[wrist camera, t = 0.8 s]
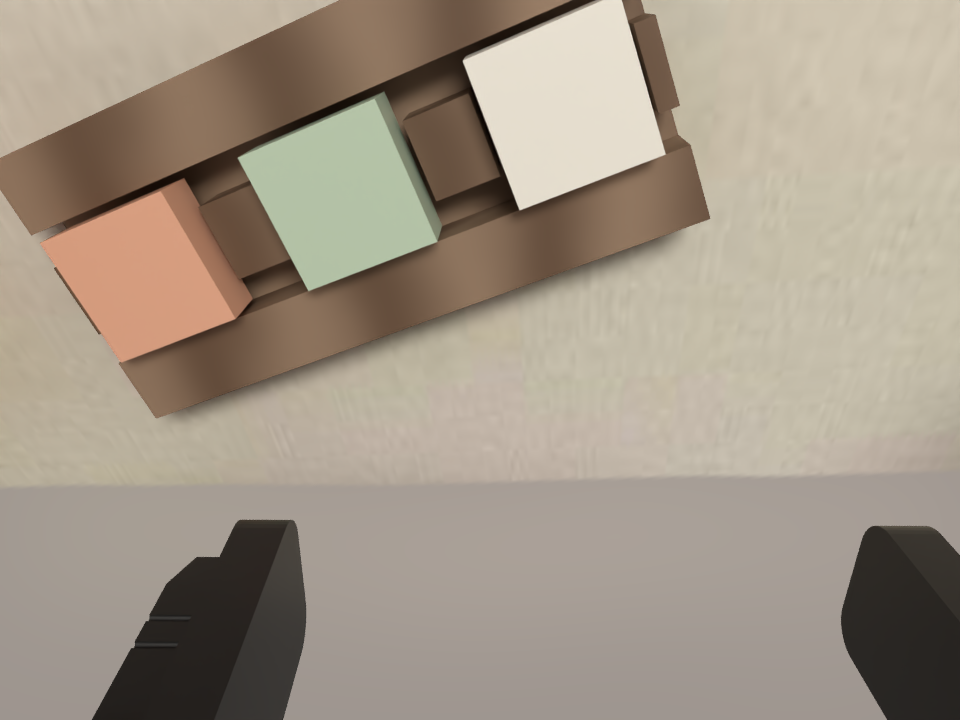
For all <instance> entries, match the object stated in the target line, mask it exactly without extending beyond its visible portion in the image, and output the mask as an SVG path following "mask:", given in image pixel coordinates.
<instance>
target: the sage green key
mask: <svg viewBox="0 0 960 720" xmlns="http://www.w3.org/2000/svg"><path fill="white" fill-rule="evenodd" d="M238 159H239V161H240V163H241V165H242V167H243V169H244V171H245V173H246V174H247V176H248V178H249V180H250V182H251V184H252V186H253V188H254V190H255V191H256V193H257V195H258V197H259V199H260V201H261V203H262V205H263V206H264V208H265V210H266V212H267V214H268V216H269V218H270V220H271V221H272V223H273V225H274V227H275V229H276V231H277V233H278V235H279V237H280V238H281V240H282V242H283V244H284V246H285V248H286V250H287V252H288V253H289V255H290V257H291V259H292V261H293V263H294V265H295V267H296V268H297V270H298V272H299V274H300V276H301V278H302V280H303V282H304V284H305V285H306V287H307V289H308V291H310V290H313V289H315V288H318V287H321V286H323V285H326V284H328V283H331V282H334V281H336V280H339V279H341V278H344V277H347V276H349V275H352V274H355V273H357V272H360V271H362V270H365V269H368V268H370V267H373V266H375V265H378V264H381V263H383V262H386V261H389V260H391V259H394V258H396V257H399V256H402V255H404V254H407V253H409V252H412V251H415V250H417V249H420V248H423V247H425V246H428V245H430V244H433V243H436V242H438V238H439V235H440V231H441V228H442V224H441V222H440V219H439V217H438V215H437V212H436V210H435V208H434V205H433V203H432V201H431V198H430V196H429V194H428V191H427V189H426V187H425V185H424V182H423V180H422V178H421V175H420V173H419V171H418V168H417V166H416V164H415V161H414V159H413V157H412V154H411V152H410V150H409V147H408V145H407V143H406V140H405V138H404V136H403V133H402V131H401V129H400V127H399V124H398V122H397V120H396V117H395V115H394V113H393V110H392V108H391V106H390V103H389V101H388V99H387V96H386V94H385V92H382V93H379V94H377V95H375V96H372V97H370V98H368V99H365V100H363V101H361V102H358V103H356V104H354V105H351V106H349V107H347V108H345V109H342V110H340V111H338V112H335V113H333V114H331V115H328V116H326V117H324V118H321V119H319V120H317V121H314V122H312V123H310V124H307V125H305V126H303V127H301V128H298V129H296V130H294V131H291V132H289V133H287V134H284V135H282V136H280V137H277V138H275V139H273V140H270V141H268V142H266V143H264V144H261V145H259V146H257V147H255V148H253V149H252V150H250V151H248V152H246V153H245V154H243V155H241V156H240V157H238Z"/></svg>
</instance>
